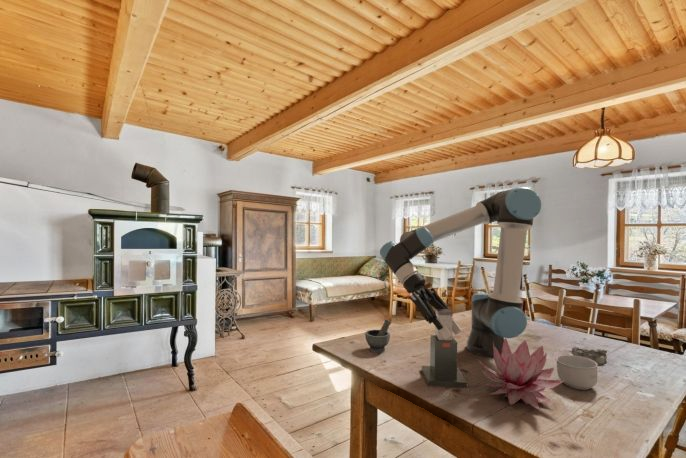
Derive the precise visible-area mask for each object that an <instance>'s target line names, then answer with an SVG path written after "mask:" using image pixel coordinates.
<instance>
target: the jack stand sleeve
mask: <svg viewBox="0 0 686 458" xmlns="http://www.w3.org/2000/svg"><path fill="white" fill-rule="evenodd" d="M429 348H430V349H429V350H430V353H429V355H430V358H429V363H430V364H429V365H421V368H420V369H421V372H422V374H423V377H424V380H425V382H426V384H427V386H428V387H445V388H447V387H448V388H468V381H467V380H466V379H465V376H464V375H463V374H462V372H461V371H460V369H459V368H458V342H457V340H456V339H455V338H454V337H453V336H452V341H437V339H436V338H435V334H430V347H429Z"/></svg>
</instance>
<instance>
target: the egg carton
mask: <svg viewBox="0 0 686 458" xmlns="http://www.w3.org/2000/svg"><path fill="white" fill-rule="evenodd" d="M607 353H608V350H606V349H597V350H596V349H587V348H580V347H577V346H573V347H571V354H573V355H574V356H580V357H585V358H588V359H591V360H593V361H595V362H596V363H597V365H600V364H601V365H604V364H605V363H606V362H607V357H608V356H607Z"/></svg>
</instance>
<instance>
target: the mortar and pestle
mask: <svg viewBox="0 0 686 458" xmlns="http://www.w3.org/2000/svg"><path fill="white" fill-rule="evenodd" d="M391 324H392V321H391V320H389V319H386V318H385V319H384V322H383V324H382V326H381V328H380V329H369V330H366V331H365V334H364V335H365V337H364V338H365V341H366V343H367V345H368V346H369V351H370V353H373V354H382V353H385V351H386V348H385V347H386V346H388V344H389V342H390V339H391V338H390V337H391V336H390V335H391V334H390V333H389V332H388V330H389V328H390V325H391Z"/></svg>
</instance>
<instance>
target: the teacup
mask: <svg viewBox="0 0 686 458" xmlns="http://www.w3.org/2000/svg"><path fill="white" fill-rule="evenodd" d="M555 361H556V370H557V377H558V378H559V380H564V382H563V383H564V384H565V385H566V386H567V387H570V388H571V389H576V390H581V391H582V390H583V391H587V390H590V389H591V388H593V387H595V386H597V383H598V367H599V366H598V365H599V364H597V363H596V362H595V361H593V360H591V359H588V358H585V357H580V356H574V355H573V354H572V353H567V354H562V355H558V356H556V358H555Z"/></svg>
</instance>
